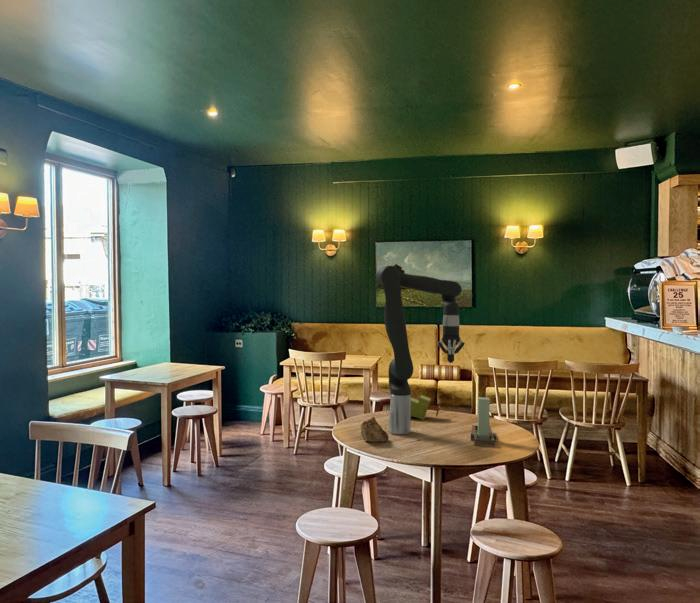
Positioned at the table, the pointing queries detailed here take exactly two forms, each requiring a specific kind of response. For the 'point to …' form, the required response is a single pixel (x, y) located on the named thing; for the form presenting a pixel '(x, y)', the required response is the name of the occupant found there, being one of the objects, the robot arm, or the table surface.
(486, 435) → the block
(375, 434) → the decorative rock
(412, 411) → the toy
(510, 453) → the table surface
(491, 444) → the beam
